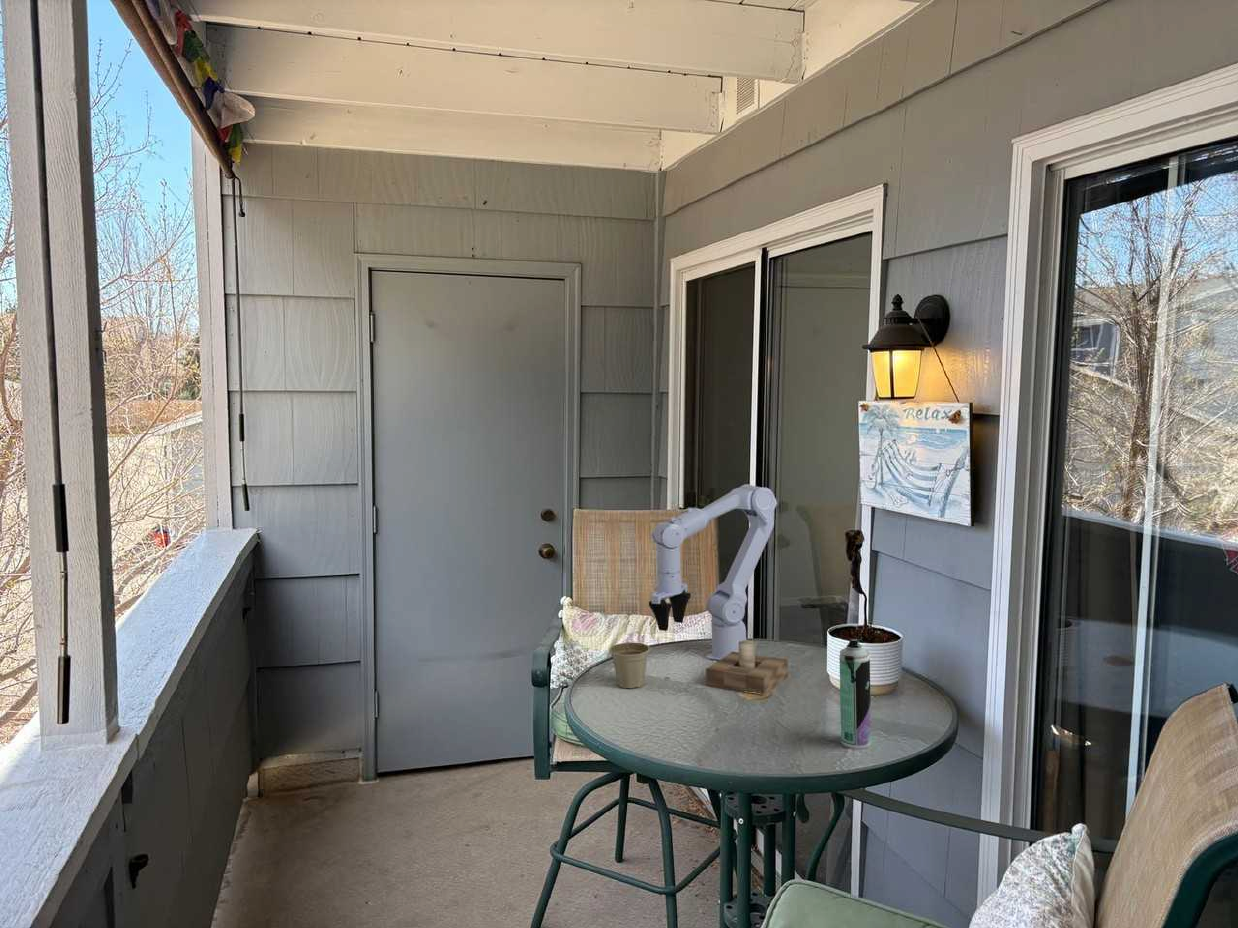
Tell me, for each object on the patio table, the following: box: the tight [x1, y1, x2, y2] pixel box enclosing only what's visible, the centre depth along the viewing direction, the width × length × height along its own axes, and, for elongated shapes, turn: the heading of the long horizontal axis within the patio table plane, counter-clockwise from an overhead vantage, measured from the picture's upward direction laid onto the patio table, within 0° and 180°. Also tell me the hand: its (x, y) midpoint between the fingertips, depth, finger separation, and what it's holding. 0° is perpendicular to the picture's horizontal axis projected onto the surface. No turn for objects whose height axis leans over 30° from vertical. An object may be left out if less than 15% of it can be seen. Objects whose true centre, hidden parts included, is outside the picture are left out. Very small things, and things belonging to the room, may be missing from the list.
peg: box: [739, 640, 756, 669], centre depth 194 cm, size 4×4×8 cm
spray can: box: [839, 638, 872, 750], centre depth 158 cm, size 6×6×20 cm
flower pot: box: [608, 641, 651, 689], centre depth 195 cm, size 9×9×9 cm
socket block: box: [705, 652, 789, 694], centre depth 195 cm, size 14×14×4 cm
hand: (671, 626), depth 207 cm, fingers open, 7 cm apart
